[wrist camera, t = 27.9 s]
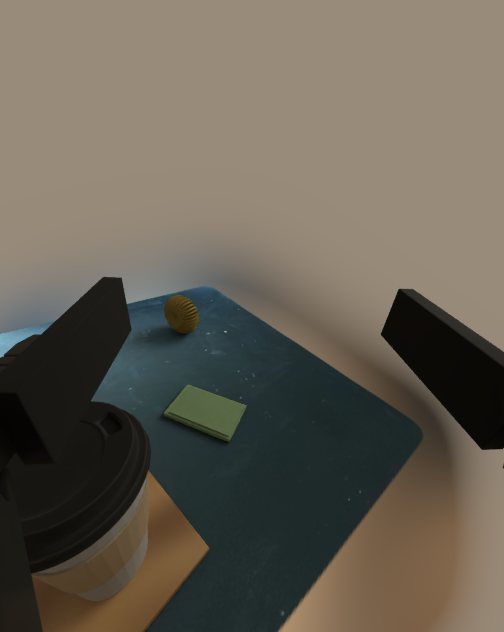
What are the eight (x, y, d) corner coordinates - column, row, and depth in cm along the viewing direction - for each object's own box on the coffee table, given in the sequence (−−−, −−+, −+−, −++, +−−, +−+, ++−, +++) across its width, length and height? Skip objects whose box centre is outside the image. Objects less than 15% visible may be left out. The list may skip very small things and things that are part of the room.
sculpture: (203, 334, 54) (202, 299, 50) (189, 342, 51) (187, 307, 47) (176, 320, 57) (174, 287, 53) (162, 328, 54) (158, 293, 50)
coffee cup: (184, 509, 26) (173, 408, 19) (126, 659, 18) (65, 590, 11) (100, 484, 27) (58, 381, 20) (12, 615, 19) (-116, 525, 12)
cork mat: (209, 550, 24) (209, 547, 24) (60, 738, 16) (57, 738, 16) (140, 462, 30) (140, 459, 30) (9, 564, 22) (6, 561, 22)
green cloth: (246, 408, 38) (246, 404, 38) (229, 442, 33) (229, 438, 33) (187, 387, 41) (187, 382, 41) (163, 416, 36) (163, 411, 36)
